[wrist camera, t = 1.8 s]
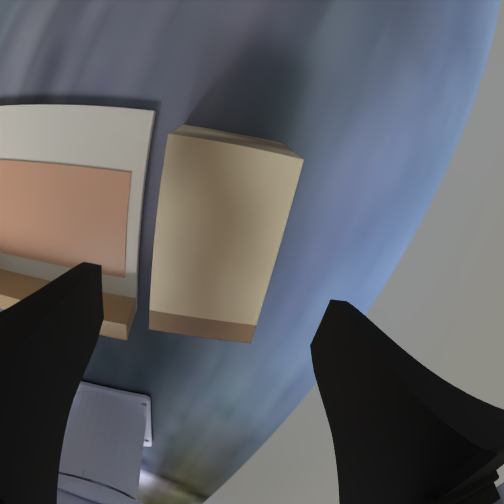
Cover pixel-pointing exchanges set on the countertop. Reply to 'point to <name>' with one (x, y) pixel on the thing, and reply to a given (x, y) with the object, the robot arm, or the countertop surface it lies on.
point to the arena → (73, 200)
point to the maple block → (218, 231)
